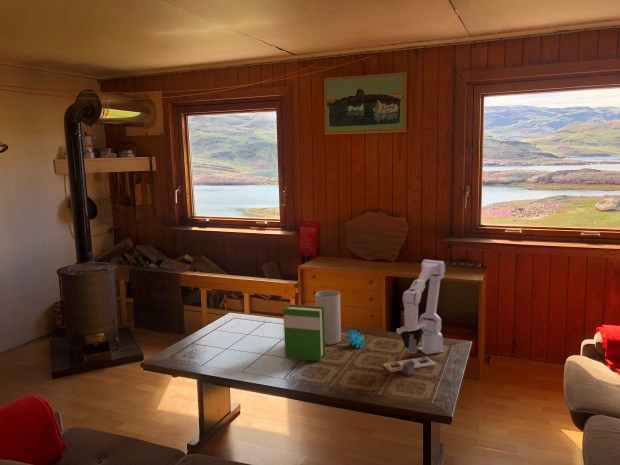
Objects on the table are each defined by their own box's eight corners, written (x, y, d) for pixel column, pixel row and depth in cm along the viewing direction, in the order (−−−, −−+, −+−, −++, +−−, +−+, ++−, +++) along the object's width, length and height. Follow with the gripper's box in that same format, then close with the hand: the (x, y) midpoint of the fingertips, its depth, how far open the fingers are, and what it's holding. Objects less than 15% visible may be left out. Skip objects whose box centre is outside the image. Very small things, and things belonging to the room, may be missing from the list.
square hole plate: (427, 359, 237) (427, 356, 237) (435, 364, 230) (435, 362, 230) (383, 366, 231) (383, 363, 231) (390, 372, 224) (390, 369, 224)
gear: (355, 348, 248) (345, 330, 253) (348, 354, 252) (338, 336, 256) (369, 344, 256) (360, 327, 261) (362, 350, 259) (353, 333, 264)
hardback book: (325, 355, 245) (323, 306, 242) (320, 361, 238) (319, 311, 235) (290, 351, 251) (289, 304, 247) (285, 357, 244) (283, 308, 240)
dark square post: (414, 348, 232) (414, 336, 231) (416, 351, 228) (416, 339, 227) (406, 349, 231) (406, 336, 230) (408, 352, 228) (408, 339, 227)
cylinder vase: (320, 346, 256) (318, 298, 252) (314, 337, 268) (312, 291, 264) (344, 343, 259) (343, 295, 255) (337, 335, 271) (336, 289, 267)
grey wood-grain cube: (408, 370, 225) (408, 362, 225) (414, 373, 222) (414, 365, 222) (402, 372, 223) (402, 364, 223) (408, 375, 220) (408, 366, 220)
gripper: (419, 312, 234) (419, 340, 236) (392, 317, 228) (392, 346, 230) (429, 316, 227) (428, 345, 229) (401, 321, 222) (401, 351, 224)
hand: (411, 346), depth 229 cm, fingers closed on dark square post, 4 cm apart
